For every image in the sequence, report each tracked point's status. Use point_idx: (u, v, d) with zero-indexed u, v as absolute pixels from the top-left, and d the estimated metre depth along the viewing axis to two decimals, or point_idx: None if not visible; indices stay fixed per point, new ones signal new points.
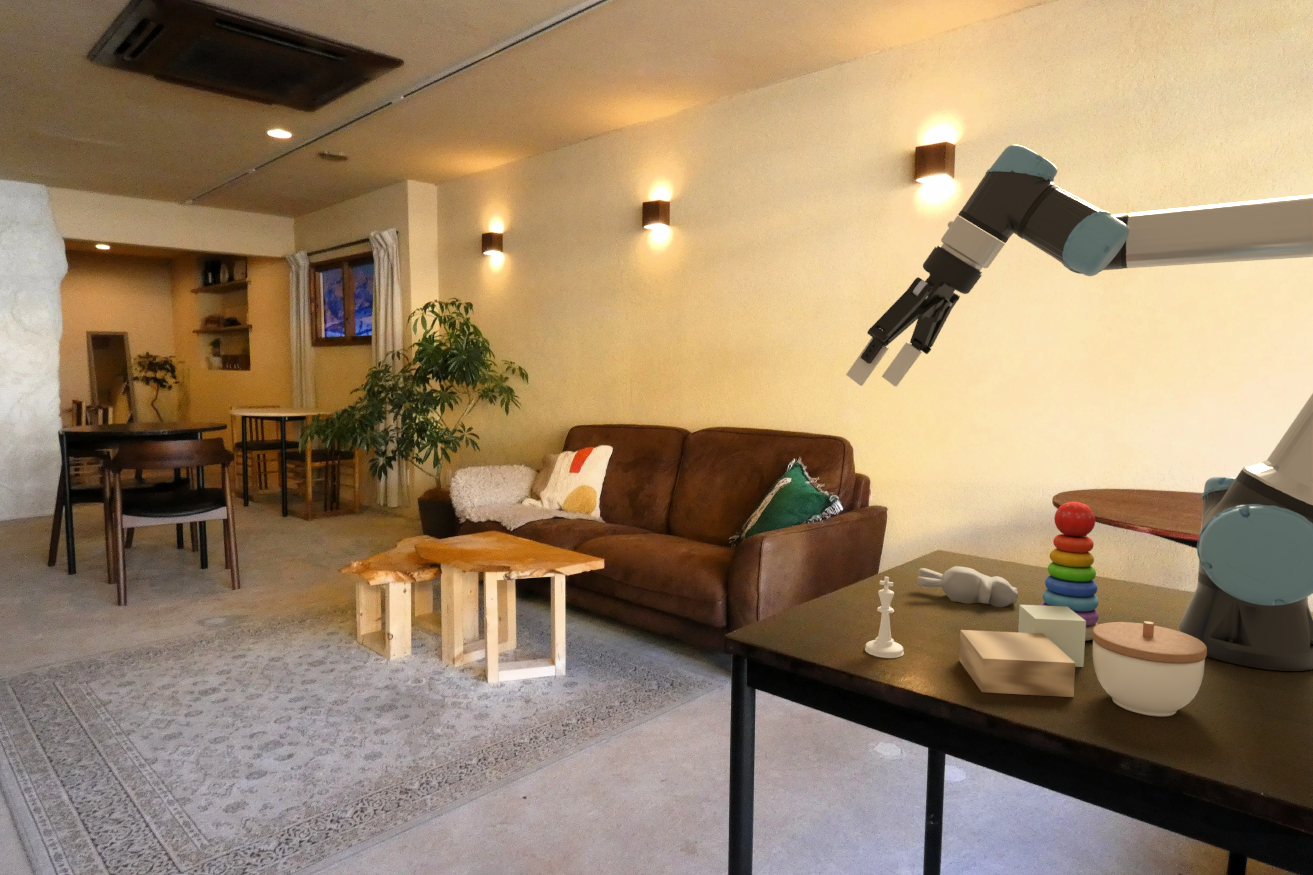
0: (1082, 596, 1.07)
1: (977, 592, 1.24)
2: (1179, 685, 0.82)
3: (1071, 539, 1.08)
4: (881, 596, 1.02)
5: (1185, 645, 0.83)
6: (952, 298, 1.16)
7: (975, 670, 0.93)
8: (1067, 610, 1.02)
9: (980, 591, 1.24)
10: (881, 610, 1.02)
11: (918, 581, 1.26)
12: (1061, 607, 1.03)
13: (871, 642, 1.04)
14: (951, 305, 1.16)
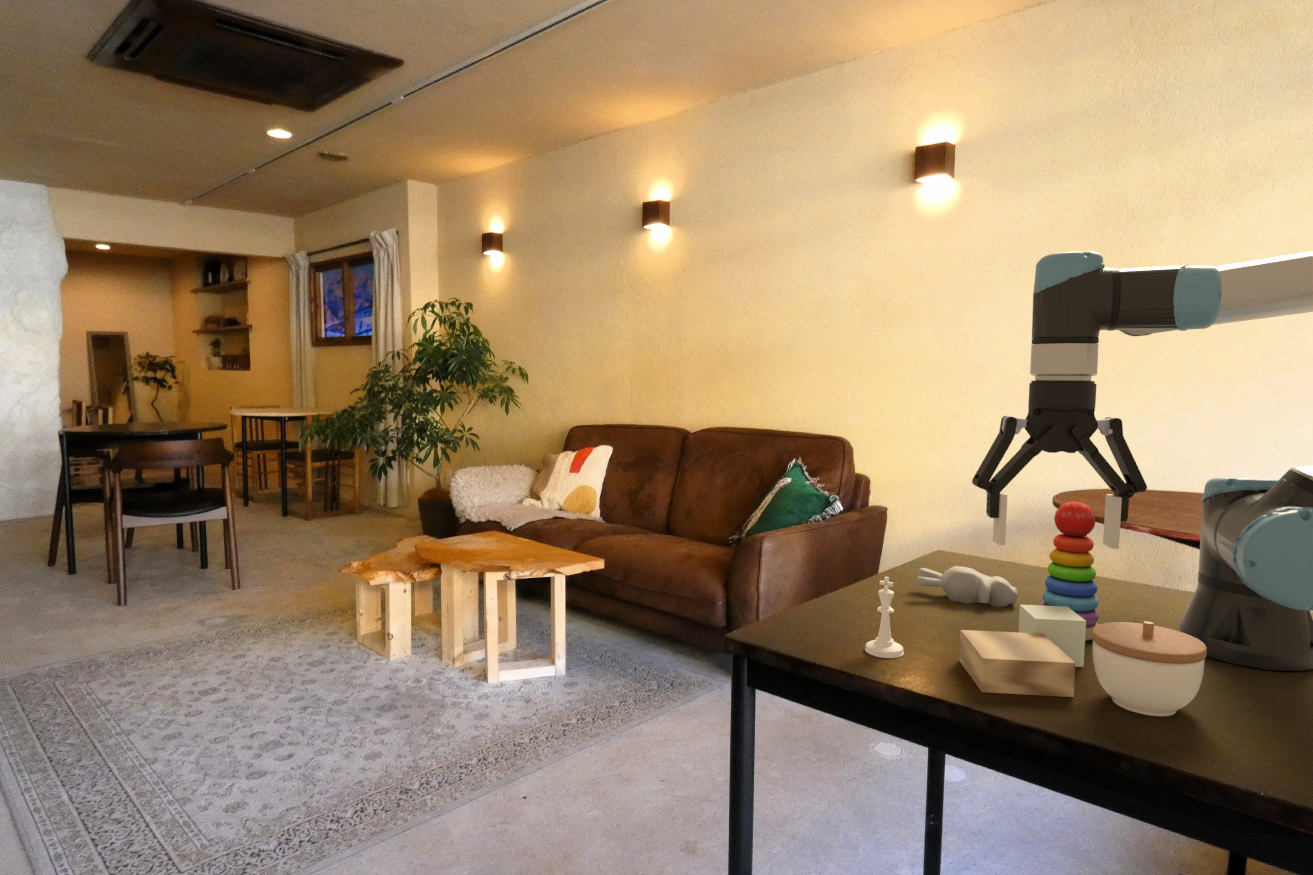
0: (1082, 596, 1.07)
1: (977, 592, 1.24)
2: (1179, 685, 0.82)
3: (1072, 539, 1.08)
4: (881, 596, 1.02)
5: (1185, 645, 0.83)
6: (1110, 424, 0.98)
7: (975, 670, 0.93)
8: (1067, 610, 1.02)
9: (979, 591, 1.24)
10: (881, 610, 1.02)
11: (918, 581, 1.26)
12: (1062, 607, 1.03)
13: (871, 642, 1.04)
14: (1113, 431, 0.97)
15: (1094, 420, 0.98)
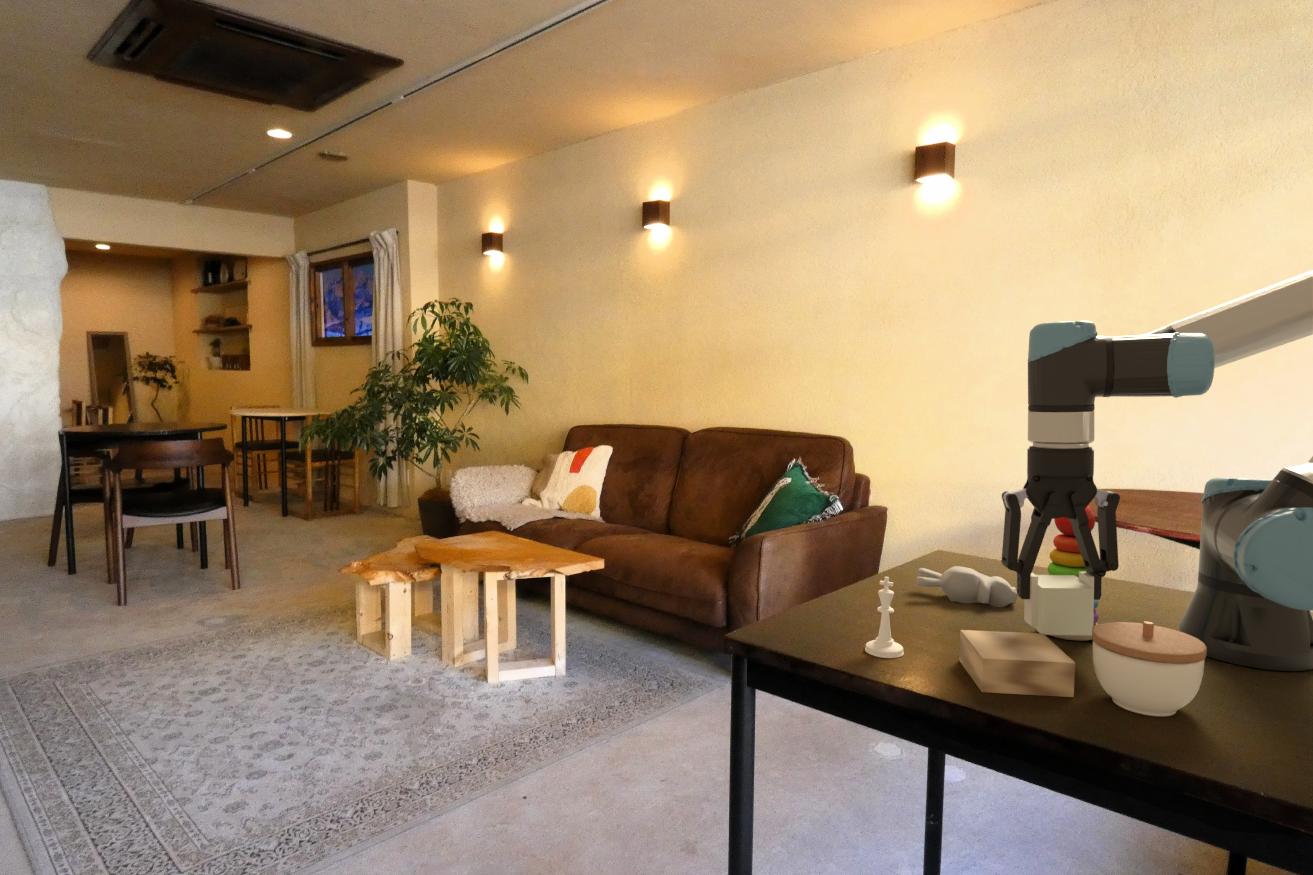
0: None
1: (976, 592, 1.24)
2: (1179, 685, 0.82)
3: (1071, 539, 1.08)
4: (881, 596, 1.02)
5: (1185, 645, 0.83)
6: (1108, 497, 0.98)
7: (975, 670, 0.93)
8: (1074, 579, 1.01)
9: (979, 591, 1.24)
10: (881, 610, 1.02)
11: (917, 581, 1.26)
12: (1069, 576, 1.02)
13: (871, 642, 1.04)
14: (1108, 505, 0.98)
15: (1095, 488, 0.98)
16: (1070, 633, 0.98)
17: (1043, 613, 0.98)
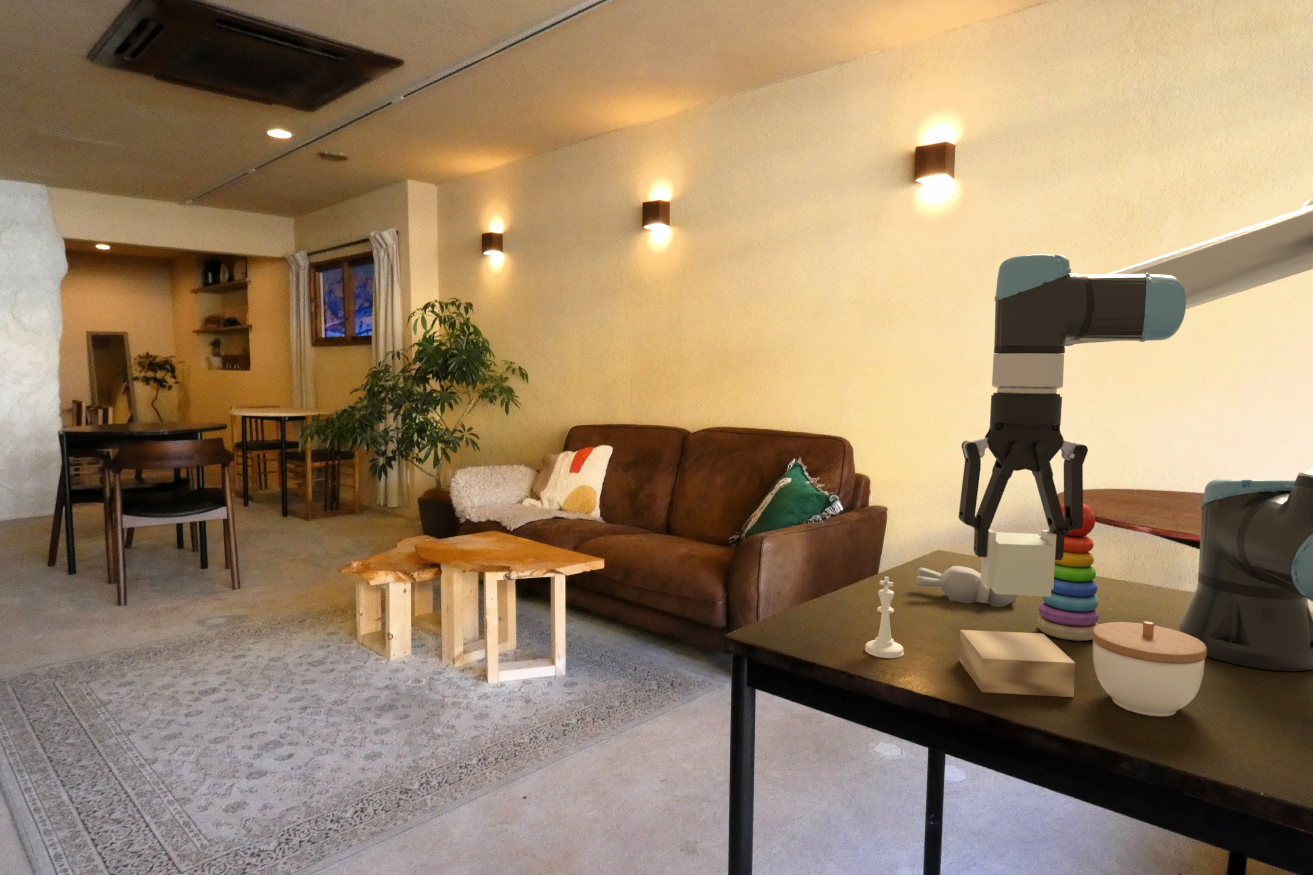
0: (1082, 596, 1.07)
1: (976, 592, 1.24)
2: (1179, 685, 0.82)
3: (1071, 539, 1.08)
4: (881, 596, 1.02)
5: (1185, 645, 0.83)
6: (1075, 449, 0.91)
7: (975, 670, 0.93)
8: (1036, 537, 0.94)
9: (978, 591, 1.24)
10: (881, 610, 1.02)
11: (917, 581, 1.26)
12: (1030, 534, 0.95)
13: (871, 642, 1.04)
14: (1074, 457, 0.90)
15: (1061, 438, 0.91)
16: (1027, 593, 0.91)
17: (999, 571, 0.91)
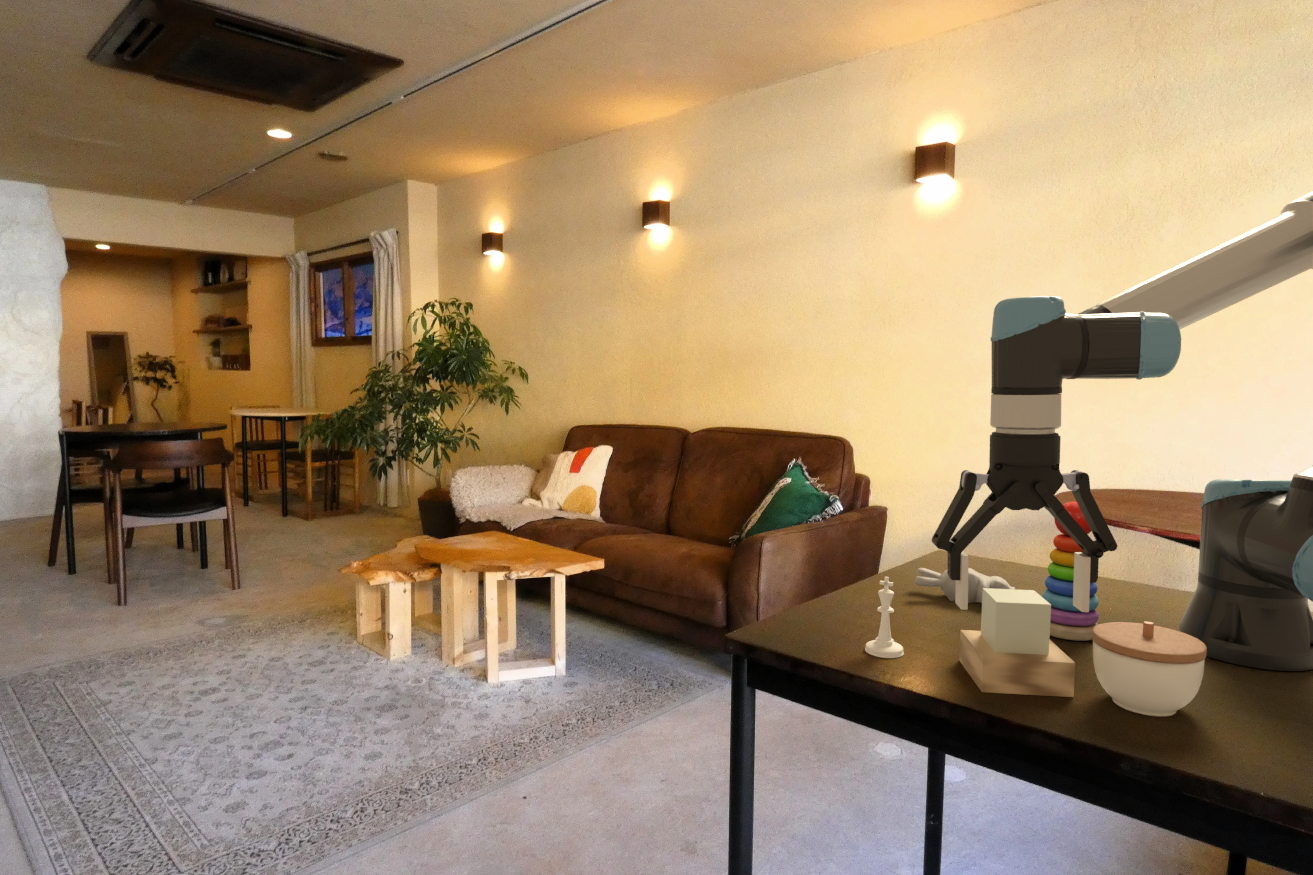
0: None
1: (975, 592, 1.24)
2: (1179, 685, 0.82)
3: (1071, 539, 1.08)
4: (881, 596, 1.02)
5: (1185, 645, 0.83)
6: (1076, 479, 0.91)
7: (975, 670, 0.93)
8: (1033, 594, 0.95)
9: (978, 591, 1.24)
10: (881, 610, 1.02)
11: (916, 581, 1.26)
12: (1027, 591, 0.96)
13: (871, 642, 1.04)
14: (1079, 487, 0.91)
15: (1059, 475, 0.91)
16: (1025, 652, 0.91)
17: (997, 629, 0.92)
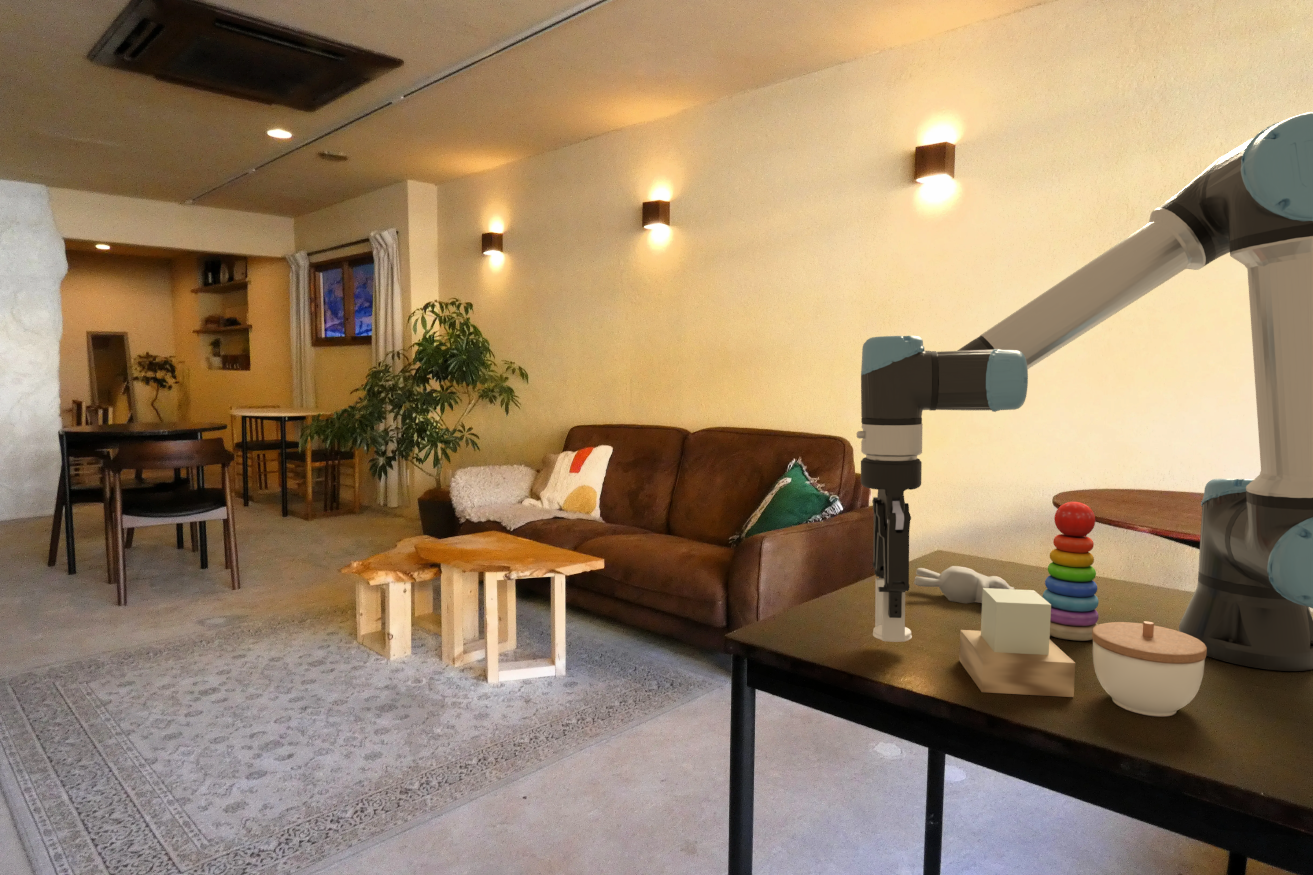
0: (1082, 596, 1.07)
1: (974, 592, 1.24)
2: (1179, 685, 0.82)
3: (1071, 539, 1.08)
4: None
5: (1185, 645, 0.83)
6: None
7: (975, 670, 0.93)
8: (1033, 594, 0.95)
9: (977, 591, 1.24)
10: None
11: (915, 581, 1.26)
12: (1027, 591, 0.96)
13: (879, 627, 1.03)
14: None
15: None
16: (1025, 652, 0.91)
17: (997, 629, 0.92)
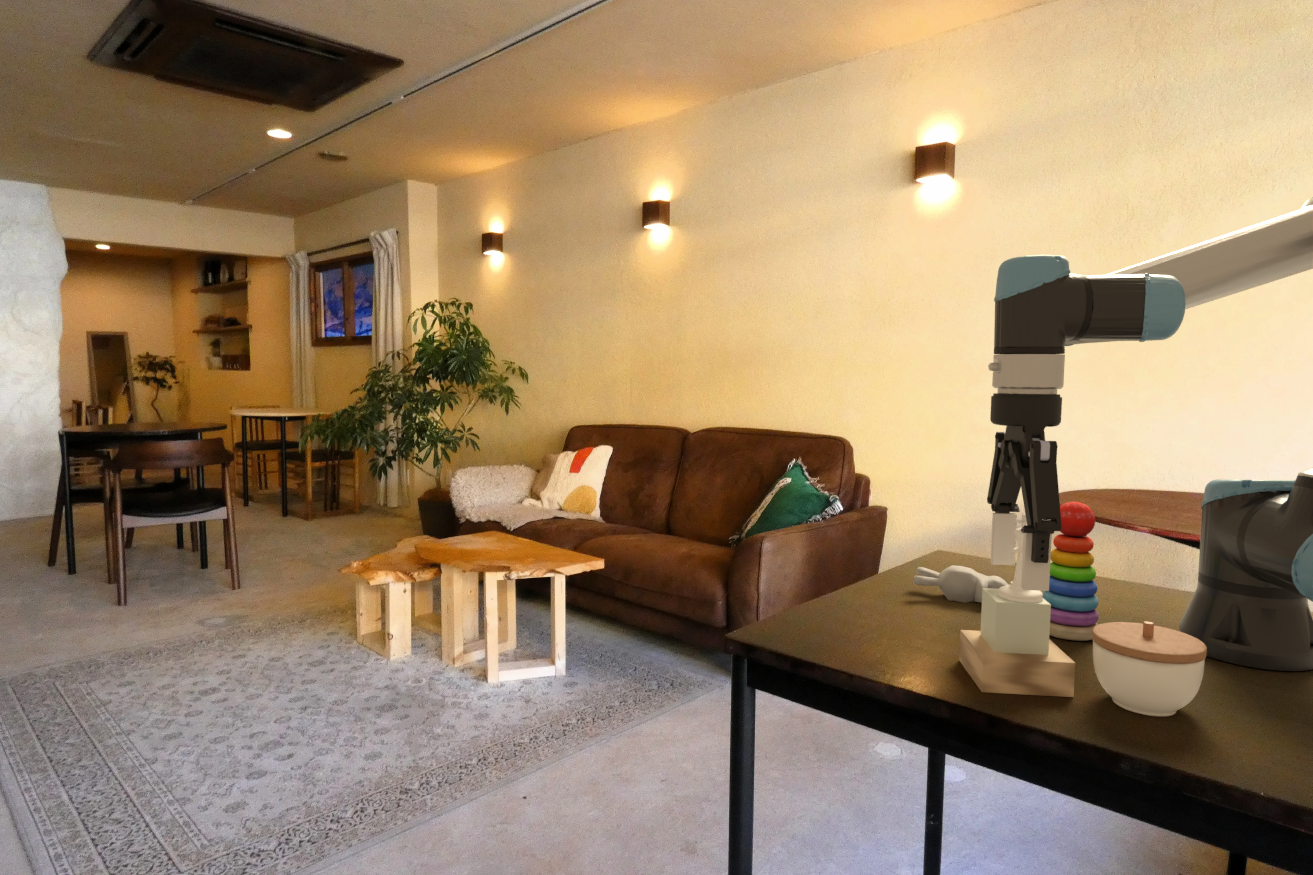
0: (1082, 596, 1.07)
1: (974, 591, 1.25)
2: (1179, 685, 0.82)
3: (1072, 539, 1.08)
4: (1018, 535, 0.92)
5: (1185, 645, 0.83)
6: None
7: (975, 670, 0.93)
8: None
9: (976, 590, 1.24)
10: (1019, 551, 0.92)
11: (915, 580, 1.27)
12: None
13: (1005, 587, 0.94)
14: None
15: None
16: (1025, 652, 0.91)
17: (997, 629, 0.92)
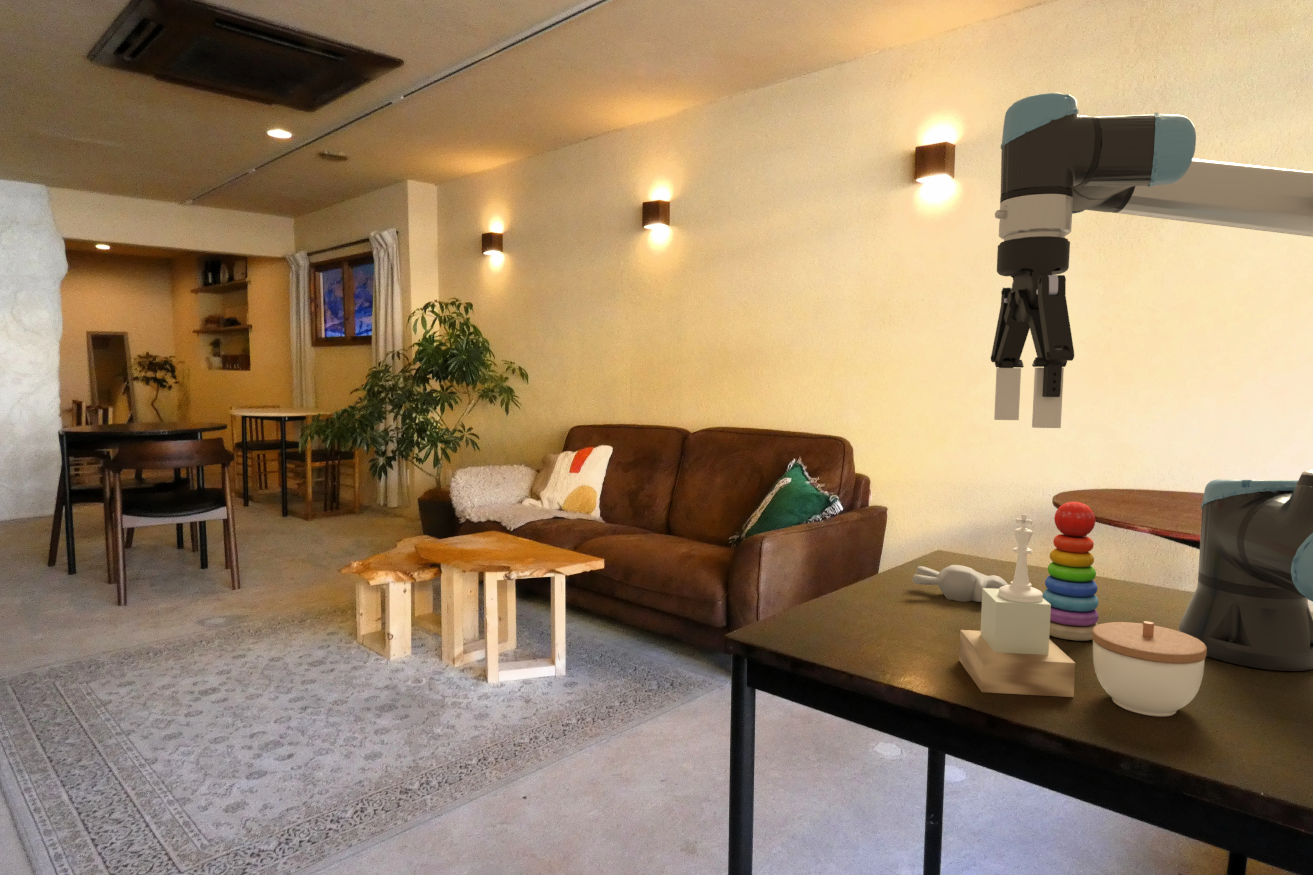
0: (1082, 596, 1.07)
1: (972, 591, 1.25)
2: (1179, 685, 0.82)
3: (1072, 539, 1.08)
4: (1018, 535, 0.92)
5: (1185, 645, 0.83)
6: None
7: (975, 670, 0.93)
8: None
9: (975, 590, 1.24)
10: (1019, 551, 0.92)
11: (914, 579, 1.27)
12: None
13: (1005, 587, 0.94)
14: None
15: None
16: (1025, 652, 0.91)
17: (997, 629, 0.92)
